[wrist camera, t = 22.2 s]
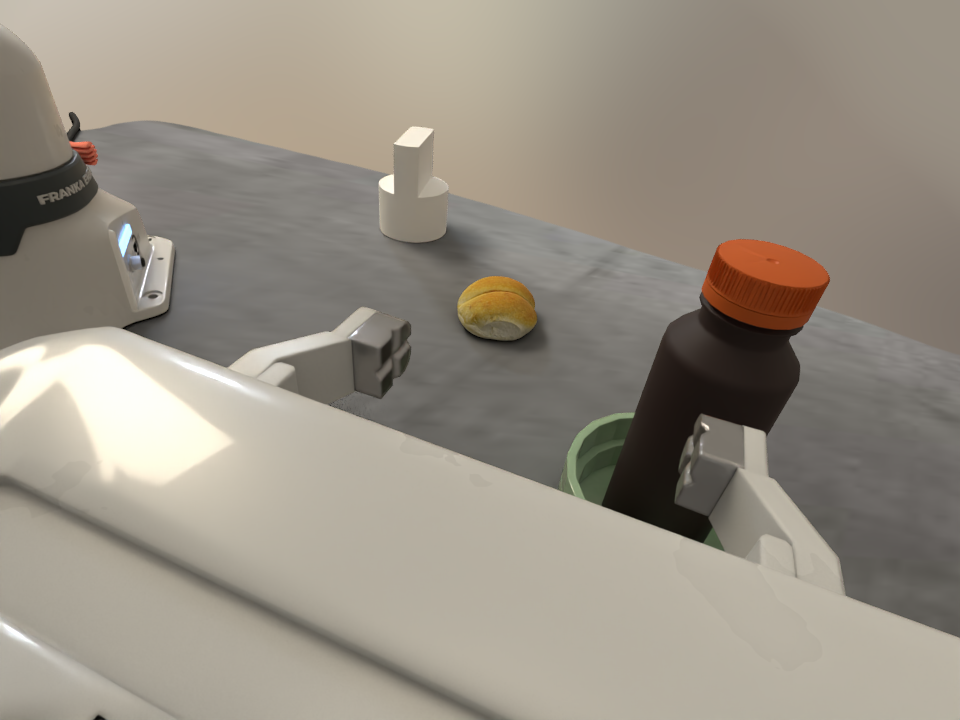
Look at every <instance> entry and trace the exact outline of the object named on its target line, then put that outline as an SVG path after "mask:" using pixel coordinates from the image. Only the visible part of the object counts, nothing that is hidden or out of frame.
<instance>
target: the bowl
mask: <svg viewBox="0 0 960 720" xmlns="http://www.w3.org/2000/svg"><path fill="white" fill-rule="evenodd" d="M634 414H635V412H632V413H616V414H612V415H610V416H607V417H604V418H601V419H598V420H595V421H593V422H592V423H590V424H589V425H588V426H587V427H586V428H584V429H583V430H582V431H581V432H579V433H578V434H577V435H576V437H575V439H574V441H573V443H572V445H571V447H570V450H569V452H568V454H567V458H566V461H565V465H564V468H563V472H562V476H561V479H560V483H559V486H558V490H559V491H562V492H564V493H567V494H570V495H573V496H575V497H578V498H581V499H583V500H586V501H589V502H592V503H594V504H597V505H600V506H602V502H603V499H604V496H605V493H606V491H607V488H608V485H609V483H610V480H611V477H612V474H613V472H614V469H615V466H616V463H617V461H618V458H619V455H620V452H621V450H622V447H623V444H624V442H625V439H626V436H627V433H628V431H629V428H630V425H631V422H632V420H633V417H634ZM703 544H705V545H708V546H711V547H714V548H716V549H719V550H722V551H724V552H725V550H724V548H723V546H722V544H721V542H720V540H719V538H718V536H717V534H716V532H715V530H714V528H712V529H711V531H710V533H709V534H708V536H707V538H706V539H705V541H704V543H703Z"/></svg>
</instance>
